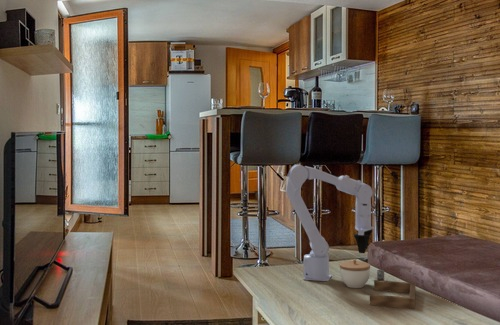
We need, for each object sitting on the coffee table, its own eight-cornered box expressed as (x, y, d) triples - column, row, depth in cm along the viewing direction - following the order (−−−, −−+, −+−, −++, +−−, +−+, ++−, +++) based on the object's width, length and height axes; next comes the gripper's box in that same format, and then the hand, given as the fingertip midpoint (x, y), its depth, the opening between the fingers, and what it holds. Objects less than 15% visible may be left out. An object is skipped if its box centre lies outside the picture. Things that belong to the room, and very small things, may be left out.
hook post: (376, 289, 173) (376, 272, 173) (377, 286, 178) (377, 269, 177) (383, 290, 172) (383, 273, 172) (384, 286, 177) (384, 270, 176)
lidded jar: (371, 282, 182) (371, 257, 182) (368, 291, 172) (368, 264, 172) (342, 280, 186) (342, 255, 185) (337, 288, 176) (337, 262, 175)
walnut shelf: (369, 304, 158) (369, 295, 158) (374, 288, 175) (374, 280, 175) (414, 308, 153) (414, 299, 153) (415, 291, 170) (415, 283, 170)
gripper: (372, 218, 180) (372, 255, 180) (375, 212, 193) (375, 247, 194) (352, 217, 182) (352, 254, 182) (357, 212, 196) (357, 246, 196)
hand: (363, 250), depth 188 cm, fingers open, 7 cm apart
